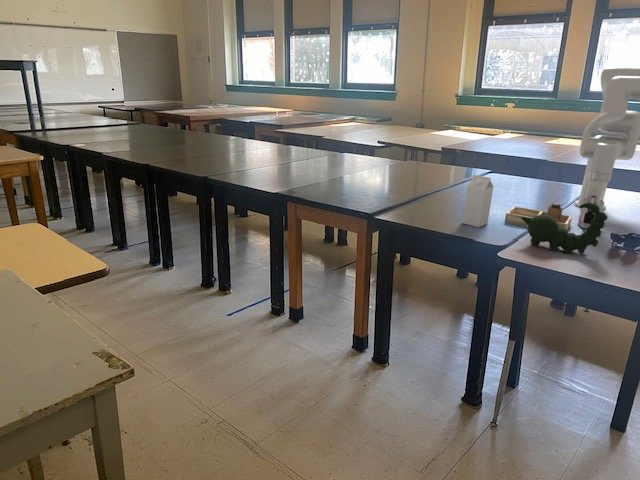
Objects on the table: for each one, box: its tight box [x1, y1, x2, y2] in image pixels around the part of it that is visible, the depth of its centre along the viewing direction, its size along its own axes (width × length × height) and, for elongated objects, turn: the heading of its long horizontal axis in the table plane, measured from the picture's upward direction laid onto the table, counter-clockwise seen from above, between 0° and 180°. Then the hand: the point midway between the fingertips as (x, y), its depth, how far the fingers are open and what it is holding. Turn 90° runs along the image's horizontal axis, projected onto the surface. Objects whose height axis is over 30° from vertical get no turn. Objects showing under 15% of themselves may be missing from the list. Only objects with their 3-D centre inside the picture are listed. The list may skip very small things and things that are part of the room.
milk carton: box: [461, 173, 494, 228], centre depth 185 cm, size 7×7×19 cm
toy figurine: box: [521, 203, 608, 255], centre depth 162 cm, size 9×19×25 cm
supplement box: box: [577, 197, 605, 230], centre depth 186 cm, size 6×6×12 cm
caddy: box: [504, 202, 573, 231], centre depth 189 cm, size 13×22×9 cm, turn 56°
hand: (589, 220), depth 187 cm, fingers closed on supplement box, 7 cm apart
